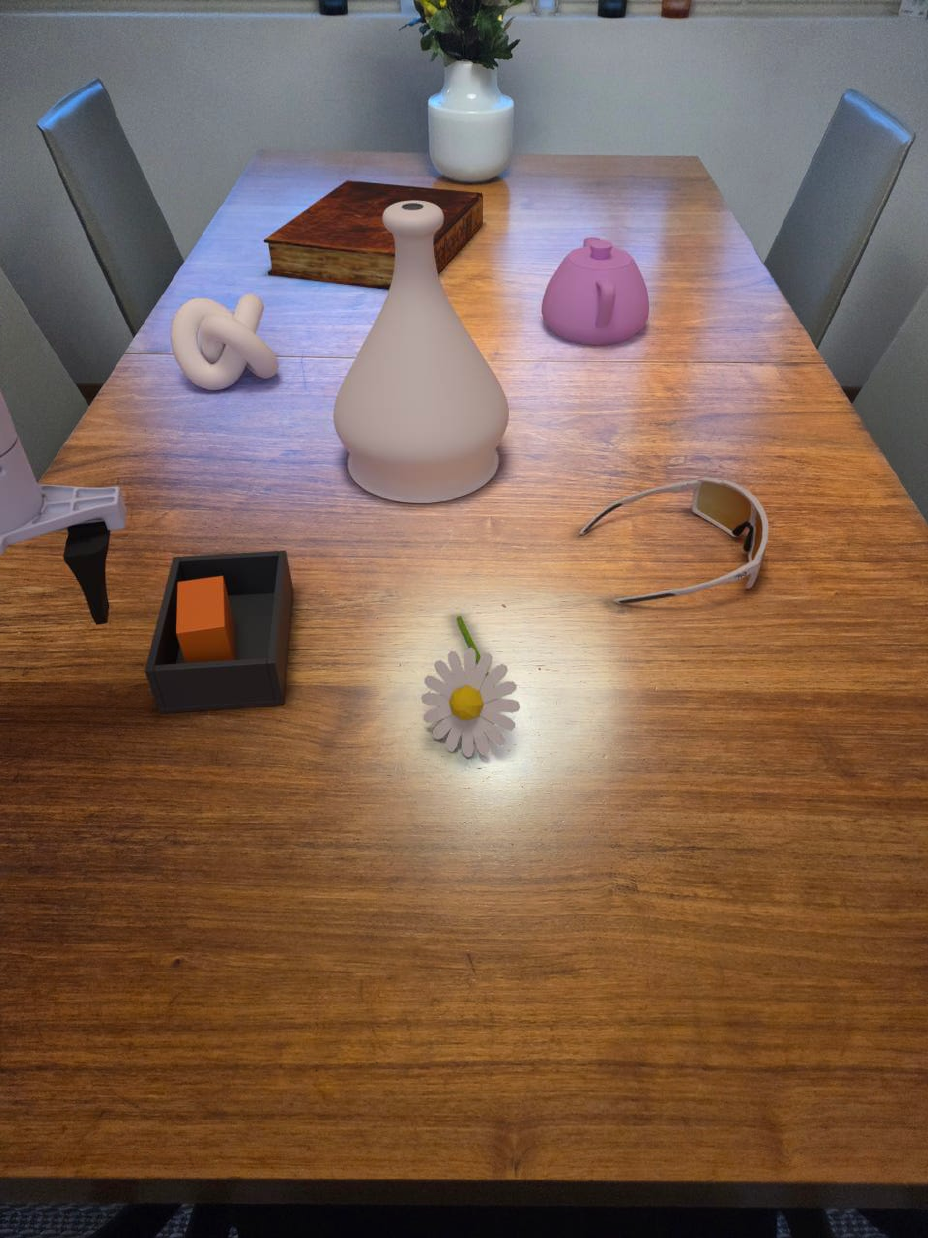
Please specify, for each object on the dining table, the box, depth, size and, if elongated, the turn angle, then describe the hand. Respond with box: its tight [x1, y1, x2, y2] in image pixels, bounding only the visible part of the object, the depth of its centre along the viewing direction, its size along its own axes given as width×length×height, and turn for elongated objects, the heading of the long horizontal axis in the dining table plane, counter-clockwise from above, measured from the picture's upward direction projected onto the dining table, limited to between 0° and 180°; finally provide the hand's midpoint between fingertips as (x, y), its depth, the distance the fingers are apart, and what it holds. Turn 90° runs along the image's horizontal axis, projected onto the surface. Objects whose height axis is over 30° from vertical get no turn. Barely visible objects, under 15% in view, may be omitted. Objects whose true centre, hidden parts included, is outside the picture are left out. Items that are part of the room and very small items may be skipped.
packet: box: [176, 576, 236, 663], centre depth 68 cm, size 4×6×5 cm, turn 13°
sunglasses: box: [578, 476, 770, 605], centre depth 78 cm, size 14×15×5 cm
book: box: [263, 179, 484, 291], centre depth 135 cm, size 30×24×5 cm
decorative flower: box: [420, 615, 521, 758], centre depth 65 cm, size 8×6×15 cm
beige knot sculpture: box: [170, 292, 279, 391], centre depth 102 cm, size 11×12×9 cm
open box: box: [144, 550, 294, 714], centre depth 69 cm, size 9×13×4 cm
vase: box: [332, 201, 510, 504], centre depth 82 cm, size 17×17×25 cm
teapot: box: [541, 236, 650, 346], centre depth 112 cm, size 14×20×11 cm
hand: (43, 623), depth 59 cm, fingers open, 7 cm apart
